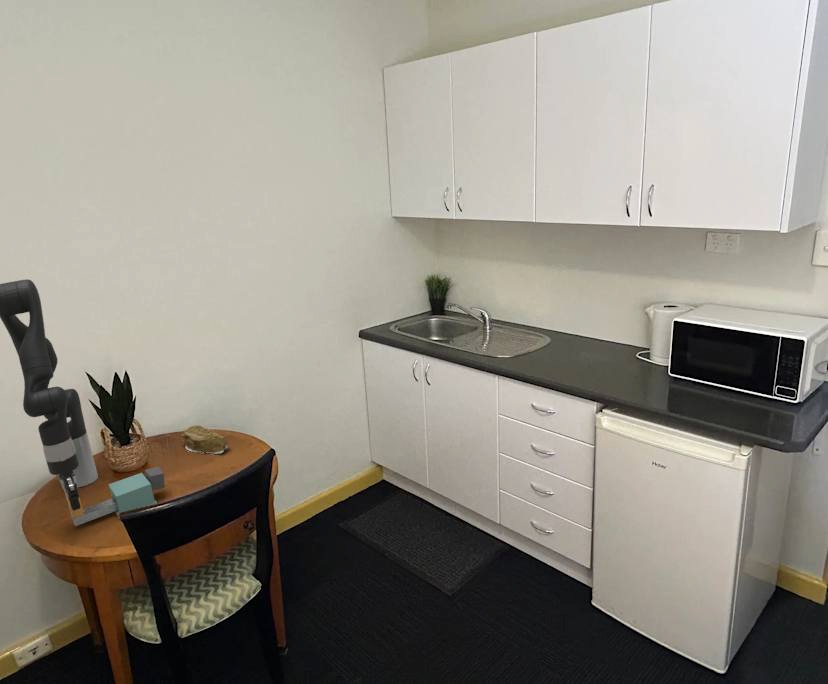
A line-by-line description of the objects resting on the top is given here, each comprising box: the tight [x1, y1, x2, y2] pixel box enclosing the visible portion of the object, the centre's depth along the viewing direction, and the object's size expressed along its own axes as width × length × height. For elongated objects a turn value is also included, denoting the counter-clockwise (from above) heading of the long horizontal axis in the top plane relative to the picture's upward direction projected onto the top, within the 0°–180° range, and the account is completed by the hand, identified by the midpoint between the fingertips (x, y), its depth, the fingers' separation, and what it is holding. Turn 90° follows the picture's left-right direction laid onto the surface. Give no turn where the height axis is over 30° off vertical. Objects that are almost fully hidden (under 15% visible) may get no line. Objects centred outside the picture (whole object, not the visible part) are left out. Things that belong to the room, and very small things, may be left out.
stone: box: [180, 425, 229, 455], centre depth 217 cm, size 22×10×7 cm, turn 61°
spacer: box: [144, 466, 166, 492], centre depth 185 cm, size 6×4×5 cm, turn 39°
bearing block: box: [108, 472, 158, 516], centre depth 182 cm, size 11×11×8 cm
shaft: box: [64, 492, 118, 527], centre depth 177 cm, size 4×22×12 cm, turn 129°
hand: (75, 506), depth 172 cm, fingers closed on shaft, 3 cm apart
